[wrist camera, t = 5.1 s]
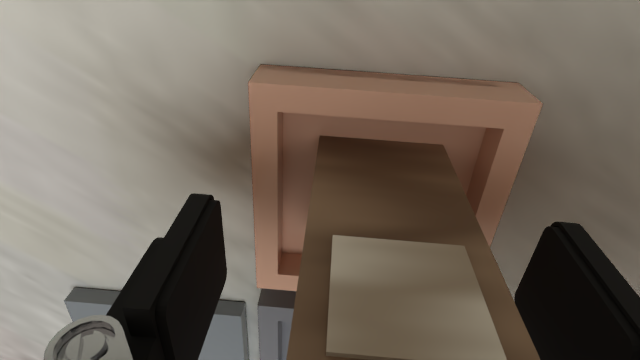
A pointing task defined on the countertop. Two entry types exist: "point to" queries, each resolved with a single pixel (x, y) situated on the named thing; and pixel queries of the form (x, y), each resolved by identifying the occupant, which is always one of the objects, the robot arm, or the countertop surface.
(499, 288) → the small cardboard box
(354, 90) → the tray terracotta
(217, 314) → the slate tile
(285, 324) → the tray charcoal
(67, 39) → the countertop surface
